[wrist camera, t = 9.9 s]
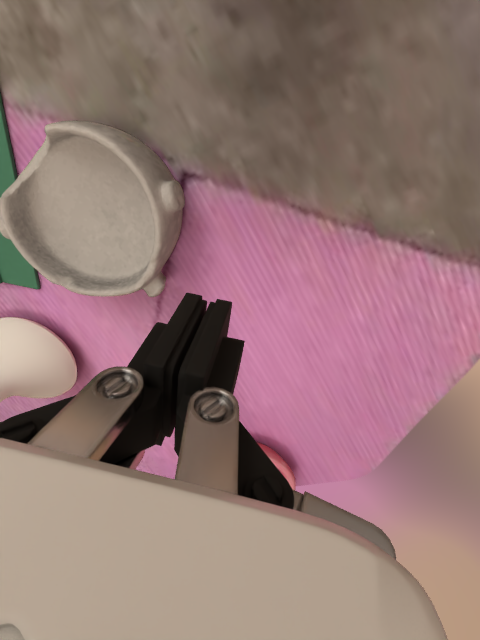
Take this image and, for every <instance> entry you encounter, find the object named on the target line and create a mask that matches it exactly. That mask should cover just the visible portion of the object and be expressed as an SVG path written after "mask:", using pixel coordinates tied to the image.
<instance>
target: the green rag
mask: <svg viewBox="0 0 480 640" xmlns="http://www.w3.org/2000/svg"><path fill="white" fill-rule="evenodd" d="M17 178H18V176H17V171H16V167H15V162H14V157H13V152H12V147H11V142H10V137H9V132H8V128H7V123H6V118H5V113H4V108H3V103H2V98H1V94H0V198H1V196H2V194H3V193H4V192H5V191H6V190H7V189H8V188H9V187H10V186H11V185H12V184H13V183H14V182H15V181H16V179H17ZM2 282H5V283H9V284H14V285H19V286H24V287H29V288H33V289H40V284H39V279H38V274H37V270H36V269H35V268H34V267H33V266H32V265H31V264H30V263H29V262H28V261H27V260H26V259H25V258H24V257H23V256H22V255H21V253H20V252H19V251H18V249H17V248H16V247H15V245H14V244H13V242H12V241H11V239H7V238H5V237H4V236H3V235H2V234H1V232H0V283H2Z"/></svg>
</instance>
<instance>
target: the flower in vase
mask: <svg viewBox="0 0 480 640" xmlns="http://www.w3.org/2000/svg"><path fill="white" fill-rule="evenodd" d="M76 379H77V365H76V361H75V359H74V356H73V354H72V352H71V350H70V349H69V348H68V346H67V345H66V344H65V343H64V341H63V340H62V339H61V338H60V337H59V336H57V335H56V334H55V333H54V332H52V331H51V330H50V329H48V328H46V327H45V326H43V325H41V324H39V323H37V322H34V321H31V320H28V319H24V318H16V317H6V318H0V402H1V401H3V400H4V399H6V398H8V397H10V396H22V397H30V398H51V397H56V396H59V395H61V394H63V393H65V392H67V391H69V390H70V389H71V388H72V387H73V386H74V384H75V382H76Z"/></svg>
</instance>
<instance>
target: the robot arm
mask: <svg viewBox="0 0 480 640" xmlns="http://www.w3.org/2000/svg"><path fill="white" fill-rule="evenodd" d="M206 307H207V301H205V300H202V296H201V295H196V294H191V293H186V294H185V296H184V298H183V299H182V301H181V303H180V304H179V306H178V308H177V309H176V311H175V312H174V314H173V316H172V317H171V319H170V321H169V322H168V324H164V323H160V322H158V323H156V324H155V326H154V327H153V329H152V330H151V332H150V333H149V335H148V336H147V338H146V339H145V341H144V342H143V344H142V345H141V347H140V348H139V350H138V351H137V353H136V354H135V356H134V357H133V359H132V360H131V362H130V363H129V365H128V366H127V367H113V368H108V369H106V370H104V371H102V372H100V373H99V374H98V375H96V376H95V377H94V378H93V379H92V380H91V381H90V382H89V383H88V384H87V385H86V386H85V387H84V388H83V389H82V390H81V391H80V392H79V393H78V394H77V395H76V396H73V397H70V398H67V399H64V400H61V401H58V402H55V403H52V404H49V405H46V406H43V407H40V408H37V409H34V410H31V411H28V412H25V413H22V414H19V415H16V416H13V417H11V418H9V419H7V420H5V421H3V422H0V640H448V639H447V636H446V633H445V631H444V628H443V625H442V623H441V621H440V618H439V616H438V614H437V612H436V610H435V608H434V605H433V604H432V601H431V600H430V598H429V597H428V595H427V593H426V592H425V590H424V589H423V587H422V586H421V585H420V583H419V582H418V581H417V580H416V579H415V578H414V577H413V576H412V574H411V573H410V572H409V571H408V570H407V569H406V568H404V567H403V566H402V565H401V564H400V563H399V562H397V561H396V555H395V549H394V547H393V545H392V543H391V541H390V539H389V538H388V537H387V536H386V534H385V533H384V532H383V531H382V530H381V529H380V528H378V527H376V526H375V525H374V524H372V523H370V522H368V521H366V520H364V519H362V518H360V517H358V516H356V515H353V514H351V513H349V512H347V511H345V510H343V509H341V508H339V507H337V506H334V505H333V504H331V503H328V502H326V501H324V500H322V499H320V498H318V497H316V496H314V495H312V494H310V493H308V492H304V495H303V494H301V493H299V492H297V491H295V490H293V489H292V488H291V486H290V484H289V483H288V481H287V480H286V478H285V477H284V476H283V475H282V473H281V472H280V471H279V470H278V468H277V467H276V466H275V465H274V463H273V462H272V461H271V460H270V458H269V457H268V456H267V455H266V453H265V452H264V451H263V450H262V449H261V447H260V446H259V445H258V444H257V442H256V441H255V440H254V439H253V437H252V436H251V435H250V434H249V432H248V431H247V430H246V429H245V427H244V426H243V425H242V424H241V422H240V421H239V405H238V401H237V400H236V398H235V397H234V396H233V392H234V388H235V384H236V380H237V376H238V371H239V367H240V362H241V357H242V352H243V347H244V341H242V340H238V339H233V338H229V337H227V334H228V327H229V321H230V315H231V308H232V302H229V301H224V300H220V299H217V301H216V303H215V302H210V304H209V306H208V309H207V311H206ZM174 427H175V447H174V450H175V452H176V453H177V455H178V457H179V458H178V464H177V469H176V475H175V480H174V479H170V478H166V477H162V476H158V475H154V474H150V473H146V472H142V471H138V470H135V469H136V467H137V466H138V464H139V463H140V461H141V460H142V458H143V455H144V453H145V449H147V448H149V447H151V446H154V445H155V444H156V445H160V446H161V445H162V442H163V440H164V438H165V436H167V437H171V435H172V432H173V430H174Z"/></svg>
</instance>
